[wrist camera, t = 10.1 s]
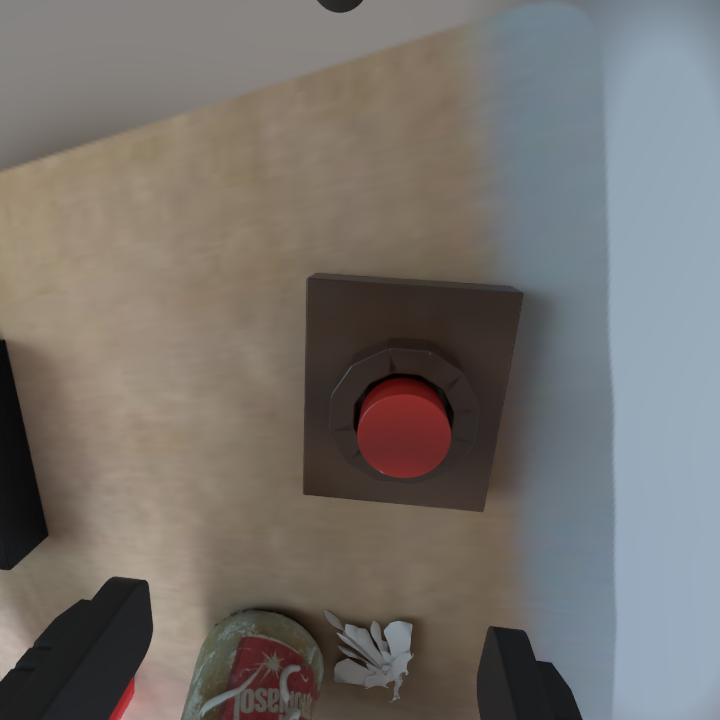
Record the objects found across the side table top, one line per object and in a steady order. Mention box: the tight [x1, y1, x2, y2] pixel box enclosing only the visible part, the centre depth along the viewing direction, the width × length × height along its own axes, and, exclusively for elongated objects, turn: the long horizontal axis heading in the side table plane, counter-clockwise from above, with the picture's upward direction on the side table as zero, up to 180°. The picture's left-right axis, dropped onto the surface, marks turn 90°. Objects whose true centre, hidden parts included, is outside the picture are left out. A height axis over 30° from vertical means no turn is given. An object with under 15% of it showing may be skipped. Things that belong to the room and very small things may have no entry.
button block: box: [303, 273, 523, 512], centre depth 21 cm, size 12×10×4 cm
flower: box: [323, 610, 414, 703], centre depth 28 cm, size 8×8×3 cm
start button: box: [357, 378, 451, 478], centre depth 18 cm, size 4×4×2 cm
